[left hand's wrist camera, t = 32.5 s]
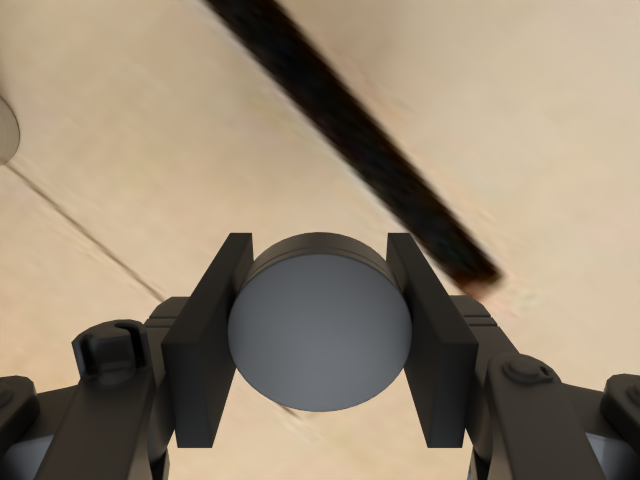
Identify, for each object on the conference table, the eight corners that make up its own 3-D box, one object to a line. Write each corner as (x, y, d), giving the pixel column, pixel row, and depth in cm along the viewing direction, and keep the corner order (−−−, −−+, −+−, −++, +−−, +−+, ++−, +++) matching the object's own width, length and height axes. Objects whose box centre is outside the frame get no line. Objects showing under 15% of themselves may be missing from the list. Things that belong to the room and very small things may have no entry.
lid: (435, 303, 12) (452, 334, 10) (324, 399, 13) (324, 439, 11) (315, 195, 11) (314, 212, 9) (205, 311, 12) (188, 343, 10)
